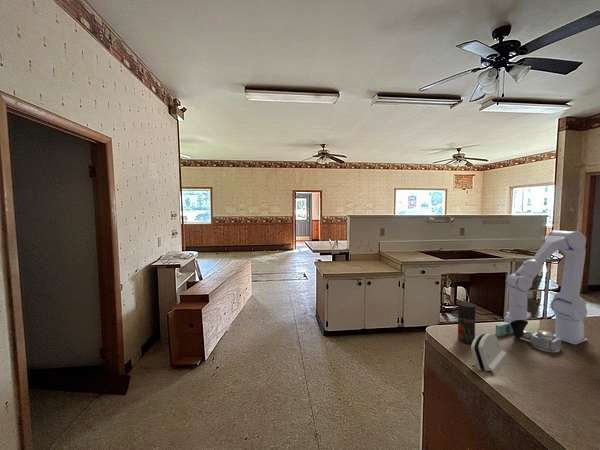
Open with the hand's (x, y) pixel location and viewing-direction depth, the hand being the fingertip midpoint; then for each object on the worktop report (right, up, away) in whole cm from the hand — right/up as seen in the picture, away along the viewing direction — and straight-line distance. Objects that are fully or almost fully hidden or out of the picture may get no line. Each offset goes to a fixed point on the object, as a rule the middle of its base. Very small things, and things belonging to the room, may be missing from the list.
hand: (517, 337), depth 110 cm
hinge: (-23, -2, -15) cm, 27 cm away
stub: (+6, -1, -6) cm, 8 cm away
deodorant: (-21, -2, 0) cm, 21 cm away
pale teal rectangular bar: (0, -1, +6) cm, 6 cm away
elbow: (+4, -1, -3) cm, 5 cm away
